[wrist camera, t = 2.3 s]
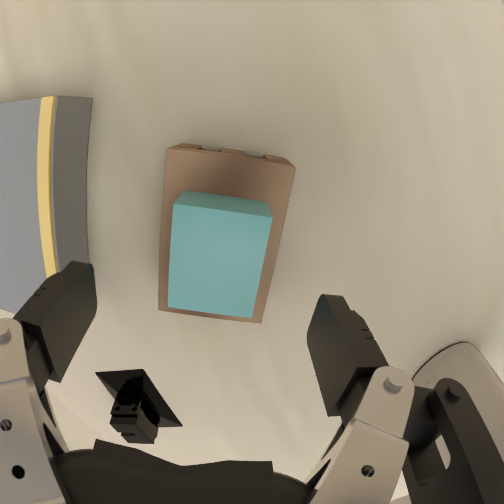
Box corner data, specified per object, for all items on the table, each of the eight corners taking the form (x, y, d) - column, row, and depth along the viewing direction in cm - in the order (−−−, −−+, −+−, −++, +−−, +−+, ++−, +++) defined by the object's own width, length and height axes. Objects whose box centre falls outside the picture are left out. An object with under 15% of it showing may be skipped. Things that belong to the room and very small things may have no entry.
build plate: (83, 356, 23) (65, 391, 19) (148, 350, 23) (134, 391, 19) (139, 430, 28) (132, 461, 24) (196, 428, 28) (193, 463, 24)
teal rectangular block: (267, 202, 14) (272, 217, 12) (249, 291, 16) (251, 317, 14) (183, 190, 14) (173, 203, 12) (176, 281, 16) (167, 306, 14)
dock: (92, 97, 14) (54, 95, 10) (92, 297, 20) (69, 333, 16) (-25, 111, 13) (-62, 118, 9) (-13, 271, 19) (-40, 296, 15)
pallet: (284, 158, 17) (295, 167, 14) (257, 291, 20) (261, 323, 17) (181, 143, 16) (167, 148, 13) (169, 279, 20) (158, 310, 17)
